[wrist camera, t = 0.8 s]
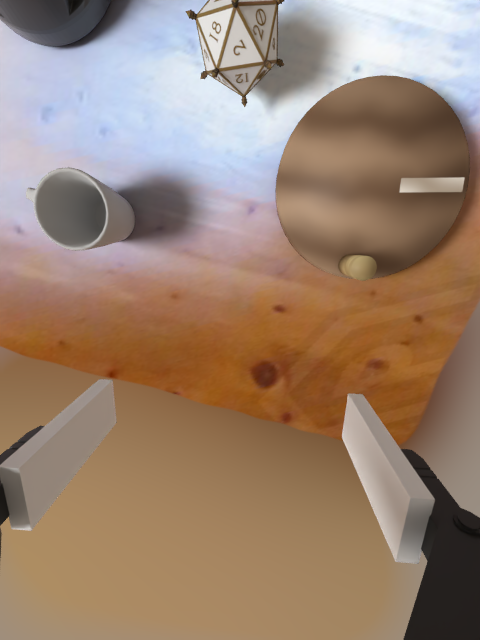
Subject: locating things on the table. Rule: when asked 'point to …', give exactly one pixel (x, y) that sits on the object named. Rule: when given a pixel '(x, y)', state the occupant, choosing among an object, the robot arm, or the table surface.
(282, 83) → the table surface
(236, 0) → the game die
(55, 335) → the table surface
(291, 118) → the table surface
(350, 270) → the turntable
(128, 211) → the cup
